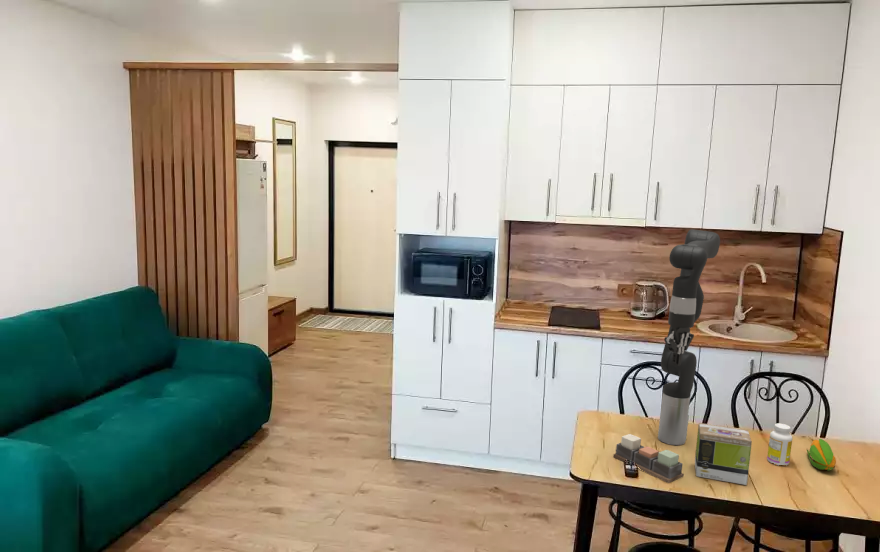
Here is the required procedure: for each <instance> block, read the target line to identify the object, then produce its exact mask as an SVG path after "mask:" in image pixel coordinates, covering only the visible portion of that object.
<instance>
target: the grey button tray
mask: <svg viewBox="0 0 880 552" xmlns="http://www.w3.org/2000/svg"><path fill="white" fill-rule="evenodd" d="M644 447H645V446H643V445H642V444H641V445H640V448H637V449H635V450H631V449H628V448H626V447H624V446H622V445H621V442H618V443H617V444H616V445H615V453H613V455H612V456H613V458H614V459H616V460H619V461H621V462H622V461H625V460H626V459H628V460H631V461H633V462H635V463H636V465H637V467H639V468H640V469H641V470H640V471H642V470H643V471H642V472H644V471H645V472H644V473H646V474H648V475H650V476H652V477H654V478H656V479H659V480H661V481H663V482H665V483H667V484H669V483H673V482H675V481H676V480H679V479H681V478H684V472H682V471H683V465H684V464H683V463H682V462H680V461H678V464H677V465H675V466H672V467H668V466H666V465H664V464H662V463H659V462H657V461H658V456H656V457H654V458H648V457H646V456H644V455H642V454H639V449H641V448H644Z"/></svg>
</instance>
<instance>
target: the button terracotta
mask: <svg viewBox="0 0 880 552" xmlns="http://www.w3.org/2000/svg"><path fill="white" fill-rule="evenodd" d="M659 452H660V451H659V450H657V449H655V448H653V447H650V446H648V445H646V446H644V448H641V449H639V454H642V455H644V456H646V457H648V458H654V457H656V456H658V453H659Z"/></svg>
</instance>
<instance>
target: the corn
mask: <svg viewBox="0 0 880 552" xmlns="http://www.w3.org/2000/svg"><path fill="white" fill-rule="evenodd" d="M806 452H807V455H808V458H809V462H810V464H811V465H812V466H813V467H814V468H815V467H816V468H815V469H817V468H818V469H817V470H822V471H824V470H825V471H826V470H827V472H828V471H832V470H833V469H835V468H836V464H837V460H836V459H837V458H836V457H835V455H834V452H833V450H832V448H831V446H830V444H829V443H828V442H827V441H826V440H823V438H819V439H814V440H812V442H811V443H810V447H809V449H806ZM810 456H811V458H812V460H811V458H810Z"/></svg>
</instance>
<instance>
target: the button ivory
mask: <svg viewBox="0 0 880 552" xmlns="http://www.w3.org/2000/svg"><path fill="white" fill-rule="evenodd" d="M620 443H621V445H622V446H624V447H626V448H628V449H631V450H635V449H637V448H640V445H641V446H642V444H641V443H642V438H641V437H639V436H636V435H633V434H631V433H629V434H625V435H623V436H621V442H620Z"/></svg>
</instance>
